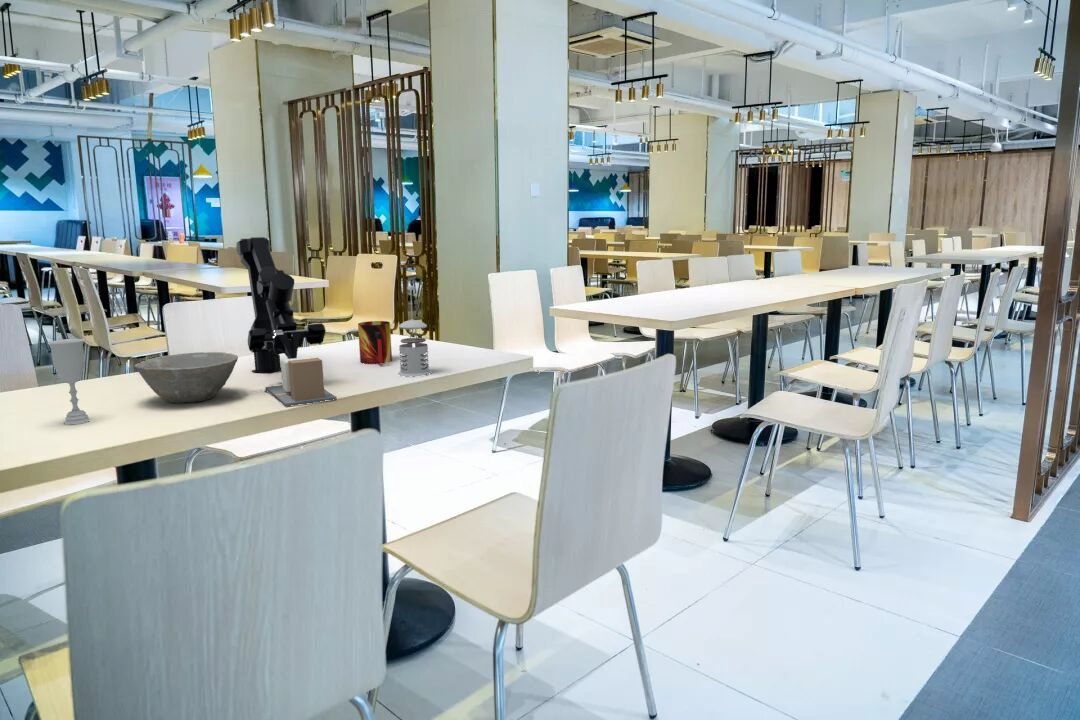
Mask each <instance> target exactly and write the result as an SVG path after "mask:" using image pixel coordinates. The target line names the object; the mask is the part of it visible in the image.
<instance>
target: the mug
mask: <svg viewBox="0 0 1080 720" xmlns="http://www.w3.org/2000/svg"><path fill="white" fill-rule="evenodd" d="M357 328H358V330H357V332H358V333H357V334H358V344H359V348H358V349H359V360H360V361H359V362H360V364H363V363H364V364H365V365H381V364H380V363H383V364H387V363H386V362H388V363H391V362H392V361H393V356H392V355H393V354H392V337H391V322H390V321H386V320H371V321H362V322H359V323H357ZM390 361H391V362H390Z"/></svg>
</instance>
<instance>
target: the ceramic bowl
mask: <svg viewBox="0 0 1080 720" xmlns="http://www.w3.org/2000/svg"><path fill="white" fill-rule="evenodd" d="M238 360H239V357H238V355H236V354H233V353H228V352H220V351H219V352H217V351H215V352H214V351H213V352H212V351H211V352H188V353H186V352H185V353H176V354H170V355H163V356H156V357H153V358H149V359H146V360H141V361H140V362H138V363H136V364H134V368H135V369H136V371H137V372H138V373H139V375H140V376H141V378H142V379H143V381H145V383H146V385H148V386H149V388H150V389H151V390H152V391H153V392H154V393H155V394H156V395H158V397H160V398H161V399H163V401H166V402H168V403H172V404H180V403H181V404H183V403H184V402H187V403H196V402H204V401H206V400H208V399H211V398H212V397H215V396H216V395H218V394H219V393H220V391H221V390H222V389H223V387H224V386H225V385H226V384H227V381H228V380H229V378H230V376H231V375H232V373H233V370H234V368H235V366H236V364H237V362H238ZM184 404H185V403H184Z"/></svg>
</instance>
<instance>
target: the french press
mask: <svg viewBox="0 0 1080 720" xmlns="http://www.w3.org/2000/svg"><path fill="white" fill-rule="evenodd" d="M407 290H408V291H410V292H409V293H410V295H412V291H413V290H415V287H414V286H413V285H407ZM412 297H413V296H410V309H411V312H410V313H411V315H413V304H412V302H413V301H412V299H413V298H412ZM397 327H398V328H399V329H401V330H409V337H408V338H402V339H400V340H399V341H400V343H402V344H400V345H399V349H398V350H399V360H400V361H399V363H400V365H399V366H400V367H399V369H400V371H399V372H398V373H397V374H398V375H400V376H399V377H402V376H405V377H404V378H411V377H410V376H421V377H423V376H422V375H426V374H429V373H431V372H432V371H431V370H430V369H429V351H428V349H429V348H428V347H429V346H428V344H427V343H425V342H426V341H427V339H426V338H424V337H417V336H418V333H417V330H420V329H425V328H427V327H428V325H427V324H426V323H425V322H423V321H421V320H417V319H416V320H415V319H413V317H411V319H410V320H406V321H404V322H402V323H400V324H399V325H397ZM414 330H415V332H414ZM411 331H412V332H411ZM414 335H415V337H412V336H414ZM413 344H414V346H413ZM398 375H397V376H398ZM406 376H407V377H406Z"/></svg>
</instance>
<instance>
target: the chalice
mask: <svg viewBox="0 0 1080 720" xmlns="http://www.w3.org/2000/svg"><path fill="white" fill-rule="evenodd" d="M85 340H86V339H84V338H65V339H57V340H53V341H48V342H47V344H48V346H49V347H50V351H51V359H52V365H53V368H54V369H55V370H56V373H57V374H58V375H59V377H60V379H62V381H63V382H64V383H65V384H68V385H69V387H70V388H69V392H68V393H69V394H70V396H71V398H70V400H69V402H70V403H71V404H72V409H71V411H68V412H67V414H66V417H65V420H64V423H65V424H75V425H81V423H82V424H86V423H88V421H89V420H90V421H91V419H90V418H89V416H88V414H87V412H86V411H85V410H83V409H80V408H79V405H78V404H79V403H78V401H80V399H78V397H77V393H78V391H77V389H76V386H75V385H76V383H78V382H79V381H80V379H81V376H82V374H83V371H84V367H85V362H86V361H85V359H86V358H85V350H84V343H85ZM90 421H89V422H90ZM85 422H86V423H85ZM64 423H63V424H64ZM65 424H64V425H65Z"/></svg>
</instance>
